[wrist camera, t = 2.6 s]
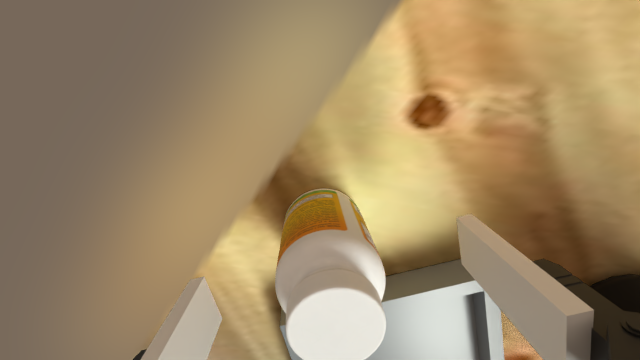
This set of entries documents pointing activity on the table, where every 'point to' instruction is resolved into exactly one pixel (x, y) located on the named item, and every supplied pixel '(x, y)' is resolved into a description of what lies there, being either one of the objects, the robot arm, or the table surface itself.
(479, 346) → the tray
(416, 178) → the table surface
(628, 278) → the coffee jar
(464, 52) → the table surface
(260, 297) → the table surface
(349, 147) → the table surface
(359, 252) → the supplement bottle
